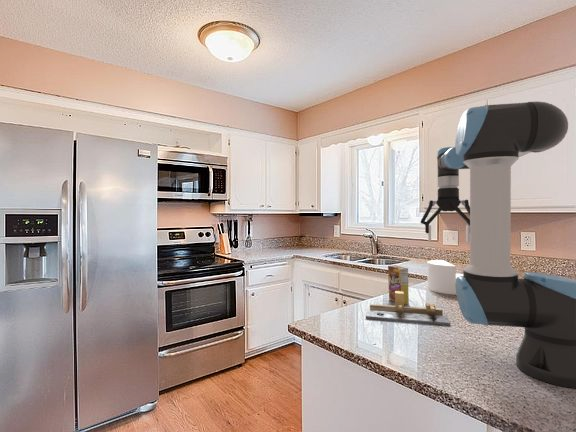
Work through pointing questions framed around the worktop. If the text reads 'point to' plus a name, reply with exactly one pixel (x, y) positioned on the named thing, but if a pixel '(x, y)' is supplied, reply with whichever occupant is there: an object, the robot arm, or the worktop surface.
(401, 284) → the candy box
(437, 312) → the beam
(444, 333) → the worktop surface
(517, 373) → the worktop surface
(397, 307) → the jaw
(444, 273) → the container
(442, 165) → the robot arm
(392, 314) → the plate
